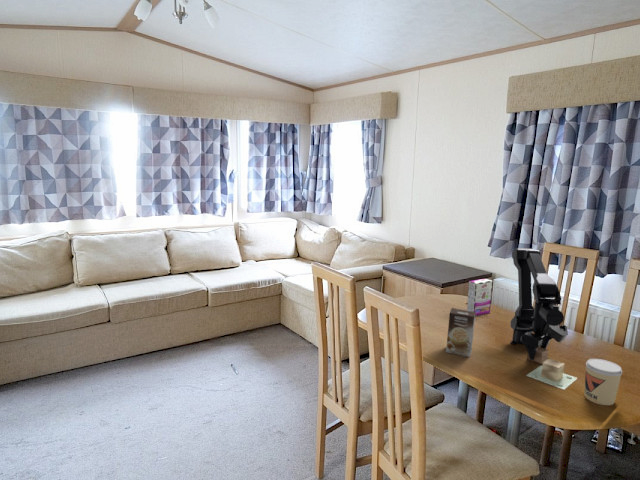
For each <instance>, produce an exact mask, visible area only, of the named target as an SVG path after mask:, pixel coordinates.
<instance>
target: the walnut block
mask: <svg viewBox="0 0 640 480" xmlns="http://www.w3.org/2000/svg"><path fill="white" fill-rule="evenodd" d="M548 353H549V349H547V348H546V349H544V348H541V347H538V348H537V351H536V354H535V357H534V360H531V359H530V357H529V354H528V353H527V357H526V358H527V360H529V361H532V362H535V363H538V364H541V365H543V362H544V361H546V360H547V359H548V355H549V354H548Z"/></svg>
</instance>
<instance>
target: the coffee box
mask: <svg viewBox="0 0 640 480" xmlns="http://www.w3.org/2000/svg"><path fill="white" fill-rule="evenodd" d="M475 321H476V316H475V312H472V311H467V309H466V310H465V309H460V308H454V307H451V309H450V311H449V318H448V328H447V337H446V338H447V339H446V349H445V353H450V354H454V355H457V356H458V355H459V356H463V357H468V358H470V357H471V355H472V354H471V353H472V349H473V341H474V330H475V329H474V328H475Z"/></svg>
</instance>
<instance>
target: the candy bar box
mask: <svg viewBox="0 0 640 480" xmlns="http://www.w3.org/2000/svg"><path fill="white" fill-rule="evenodd" d="M467 290H468V291H467V304H466V306H467V307H466V310H467V311H472V312H475V317H477V316H482V315H487V314H490V313H491V305H492V304H491V303H492V295H493V294H492V293H493V280H492V279H488V278H482V279H481V278H480V279H475V280H469V281H468V289H467Z"/></svg>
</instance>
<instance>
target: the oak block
mask: <svg viewBox="0 0 640 480" xmlns="http://www.w3.org/2000/svg"><path fill="white" fill-rule="evenodd" d="M541 366H542V374H541V376H542V377H545V378H547V379H550V380H553V381H555V382H557V381H559V380H560V379H561V378H562V377H563V373H564V371H565V370H564V369H565V363H564V362H561V361H558V360H555V359H552V358H547V360H546V361H544V362H543V363H542V364H541Z"/></svg>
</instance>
